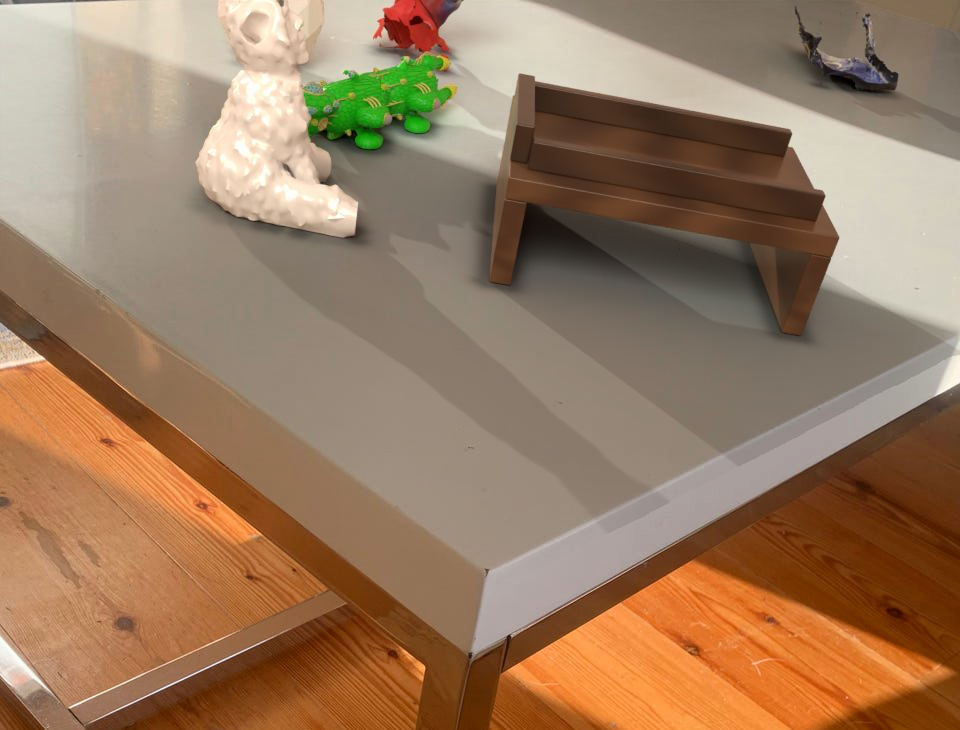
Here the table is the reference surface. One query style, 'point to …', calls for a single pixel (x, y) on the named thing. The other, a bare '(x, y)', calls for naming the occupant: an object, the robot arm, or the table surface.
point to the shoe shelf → (665, 182)
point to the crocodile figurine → (378, 100)
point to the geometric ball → (303, 3)
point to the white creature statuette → (271, 131)
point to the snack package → (851, 61)
